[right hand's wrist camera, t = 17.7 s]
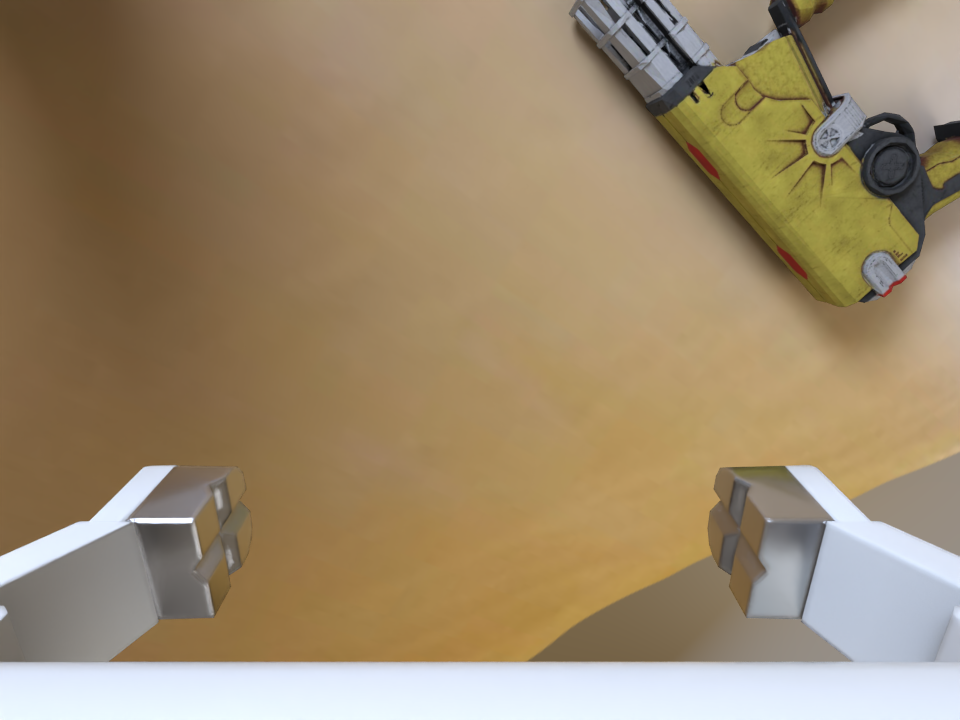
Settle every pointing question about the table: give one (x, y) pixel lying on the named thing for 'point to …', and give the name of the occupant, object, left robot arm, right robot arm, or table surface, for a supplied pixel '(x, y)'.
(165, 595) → the right robot arm
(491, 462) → the table surface
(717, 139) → the toy gun
